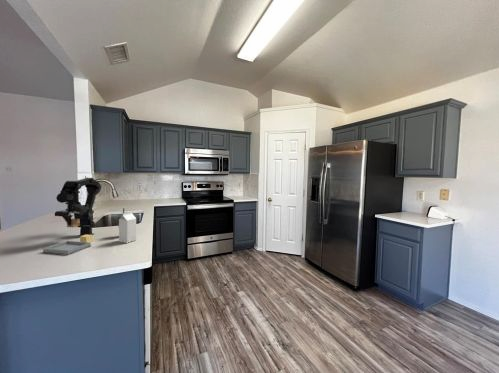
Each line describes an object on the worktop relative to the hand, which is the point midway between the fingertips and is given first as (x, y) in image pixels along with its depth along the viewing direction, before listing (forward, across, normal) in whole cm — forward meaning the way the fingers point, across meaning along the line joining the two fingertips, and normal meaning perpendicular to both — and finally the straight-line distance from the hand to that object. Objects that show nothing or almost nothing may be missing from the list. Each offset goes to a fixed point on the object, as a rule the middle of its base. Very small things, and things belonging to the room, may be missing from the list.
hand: (73, 224), depth 138 cm
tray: (+11, -12, -10) cm, 19 cm away
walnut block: (+1, 0, 0) cm, 1 cm away
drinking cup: (+11, +18, -22) cm, 30 cm away
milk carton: (+11, +9, -32) cm, 35 cm away
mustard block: (+11, +1, -9) cm, 14 cm away
